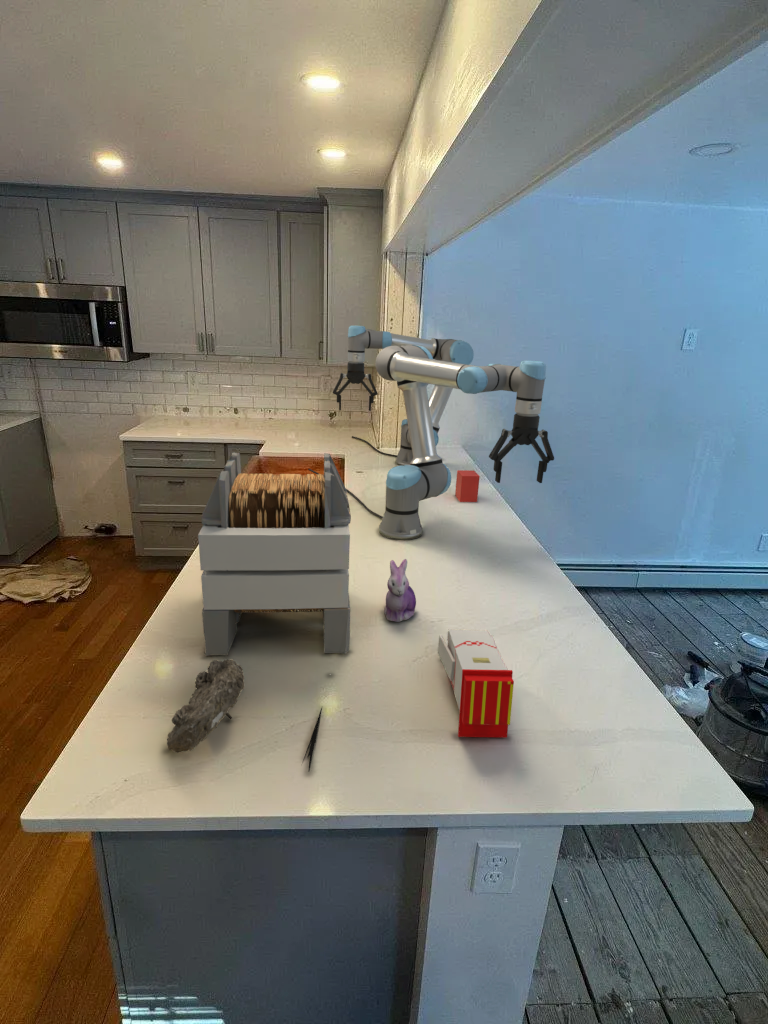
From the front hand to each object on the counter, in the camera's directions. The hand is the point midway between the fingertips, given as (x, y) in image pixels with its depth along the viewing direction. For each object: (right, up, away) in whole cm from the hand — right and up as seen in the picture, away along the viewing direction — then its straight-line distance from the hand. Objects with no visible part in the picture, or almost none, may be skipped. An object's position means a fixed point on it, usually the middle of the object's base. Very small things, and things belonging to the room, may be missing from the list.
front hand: (518, 481), depth 178 cm
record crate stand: (-68, -36, -34) cm, 84 cm away
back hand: (-55, +37, +81) cm, 105 cm away
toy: (-24, -47, -59) cm, 79 cm away
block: (-7, -4, +63) cm, 64 cm away
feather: (-55, -49, -69) cm, 101 cm away
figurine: (-38, -36, -30) cm, 61 cm away
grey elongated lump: (-75, -49, -70) cm, 113 cm away
